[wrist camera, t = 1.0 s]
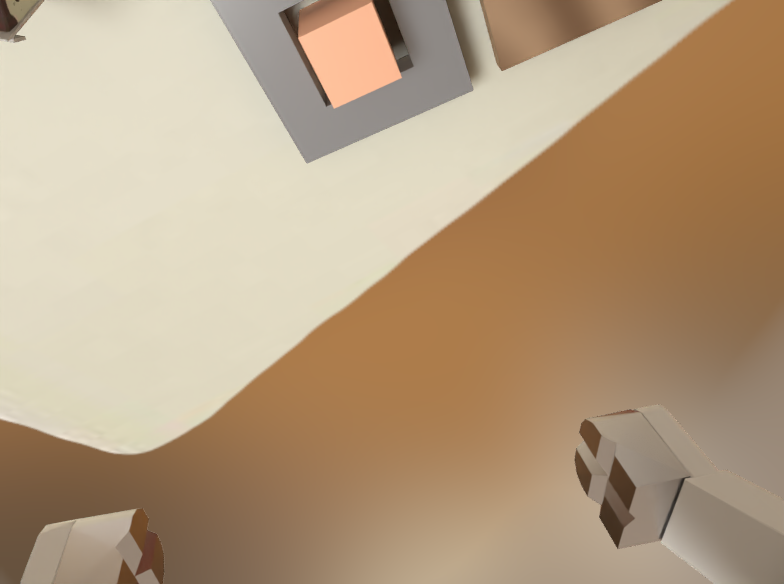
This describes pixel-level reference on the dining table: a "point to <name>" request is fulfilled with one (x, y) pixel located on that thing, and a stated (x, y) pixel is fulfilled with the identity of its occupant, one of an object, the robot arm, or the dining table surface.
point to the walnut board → (547, 24)
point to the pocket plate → (367, 113)
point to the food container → (15, 17)
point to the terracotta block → (347, 48)
